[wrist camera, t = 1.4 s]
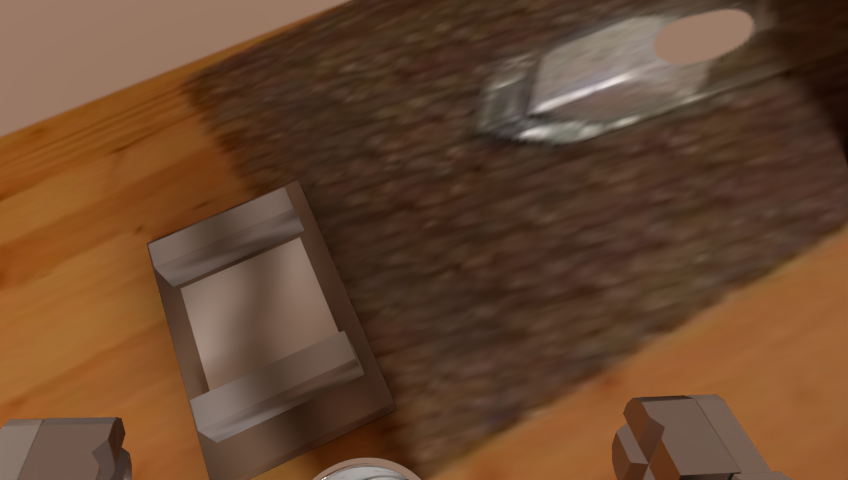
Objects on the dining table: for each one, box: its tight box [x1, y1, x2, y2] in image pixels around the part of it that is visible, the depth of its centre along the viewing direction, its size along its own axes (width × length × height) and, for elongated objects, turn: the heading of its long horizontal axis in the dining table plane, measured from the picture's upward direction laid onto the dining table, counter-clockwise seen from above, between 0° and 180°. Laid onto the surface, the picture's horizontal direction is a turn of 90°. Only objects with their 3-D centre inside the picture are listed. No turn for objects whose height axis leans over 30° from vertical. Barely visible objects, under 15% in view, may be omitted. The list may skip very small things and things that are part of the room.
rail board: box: [147, 180, 397, 480], centre depth 46 cm, size 12×19×4 cm, turn 24°
